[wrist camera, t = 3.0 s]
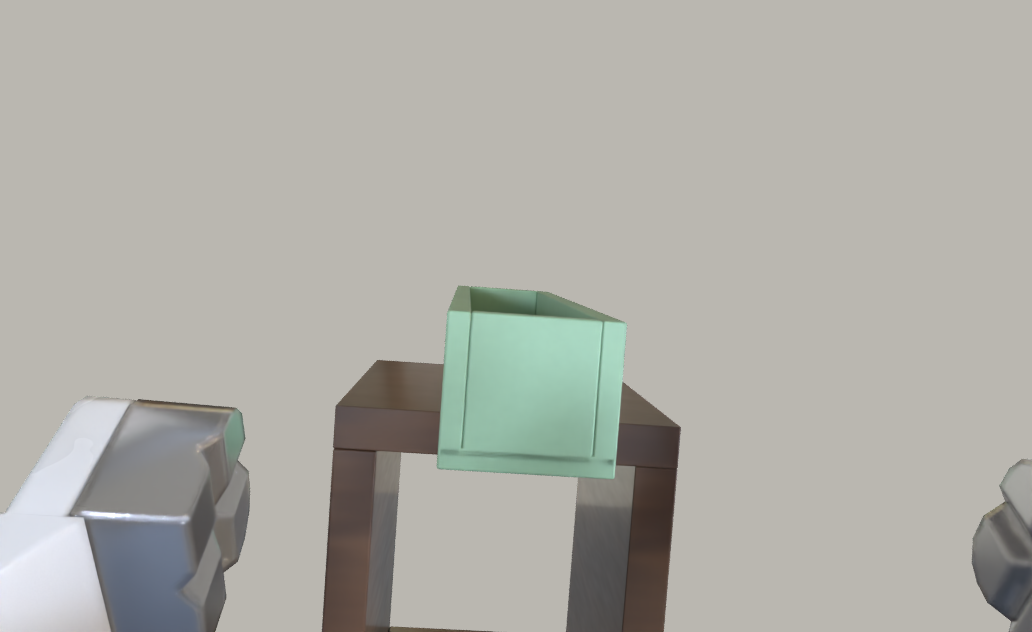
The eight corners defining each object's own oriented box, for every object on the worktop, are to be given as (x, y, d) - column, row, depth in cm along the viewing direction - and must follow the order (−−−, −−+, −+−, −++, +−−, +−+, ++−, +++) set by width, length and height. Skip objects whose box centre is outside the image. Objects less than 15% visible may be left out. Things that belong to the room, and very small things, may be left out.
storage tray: (542, 372, 45) (548, 291, 44) (614, 480, 23) (627, 322, 22) (452, 366, 44) (457, 285, 44) (436, 469, 22) (447, 309, 22)
